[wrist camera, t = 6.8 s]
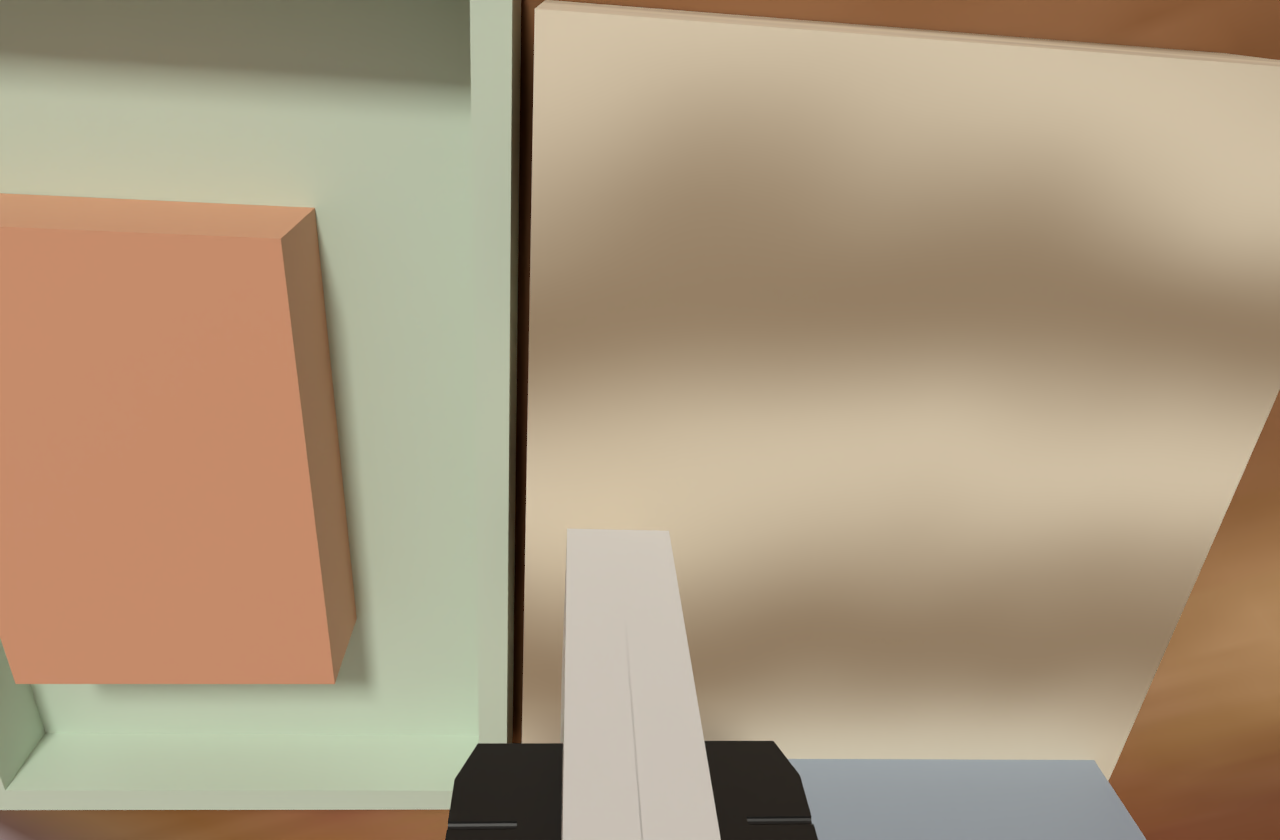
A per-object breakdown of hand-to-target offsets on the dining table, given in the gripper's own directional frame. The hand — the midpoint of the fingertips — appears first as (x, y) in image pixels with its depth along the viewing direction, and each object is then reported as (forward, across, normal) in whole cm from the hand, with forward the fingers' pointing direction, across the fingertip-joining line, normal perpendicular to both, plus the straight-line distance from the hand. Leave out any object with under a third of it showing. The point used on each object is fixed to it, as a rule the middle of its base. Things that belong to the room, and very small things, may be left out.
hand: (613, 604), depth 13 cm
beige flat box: (+6, +5, -2) cm, 7 cm away
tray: (+6, -7, 0) cm, 9 cm away
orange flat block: (+4, -8, 0) cm, 9 cm away
